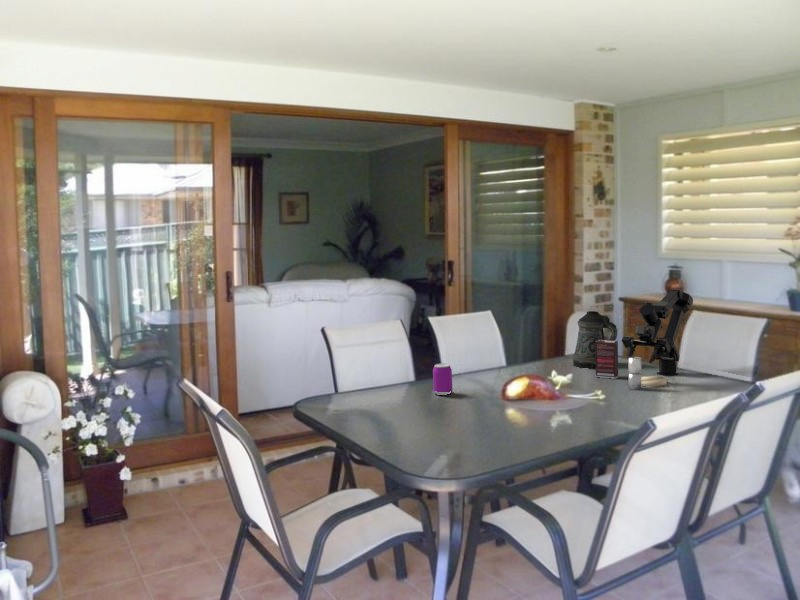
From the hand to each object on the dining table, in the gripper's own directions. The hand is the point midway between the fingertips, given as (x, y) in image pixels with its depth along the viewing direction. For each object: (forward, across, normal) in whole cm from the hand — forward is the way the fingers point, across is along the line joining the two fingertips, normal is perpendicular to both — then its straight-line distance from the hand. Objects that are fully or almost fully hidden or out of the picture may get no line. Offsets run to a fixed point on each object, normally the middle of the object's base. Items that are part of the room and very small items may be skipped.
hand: (638, 361), depth 293 cm
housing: (+10, 0, +5) cm, 11 cm away
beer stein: (-11, -35, +26) cm, 44 cm away
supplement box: (+2, -18, +13) cm, 23 cm away
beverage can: (+46, -58, -30) cm, 80 cm away
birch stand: (+2, +2, +13) cm, 13 cm away
